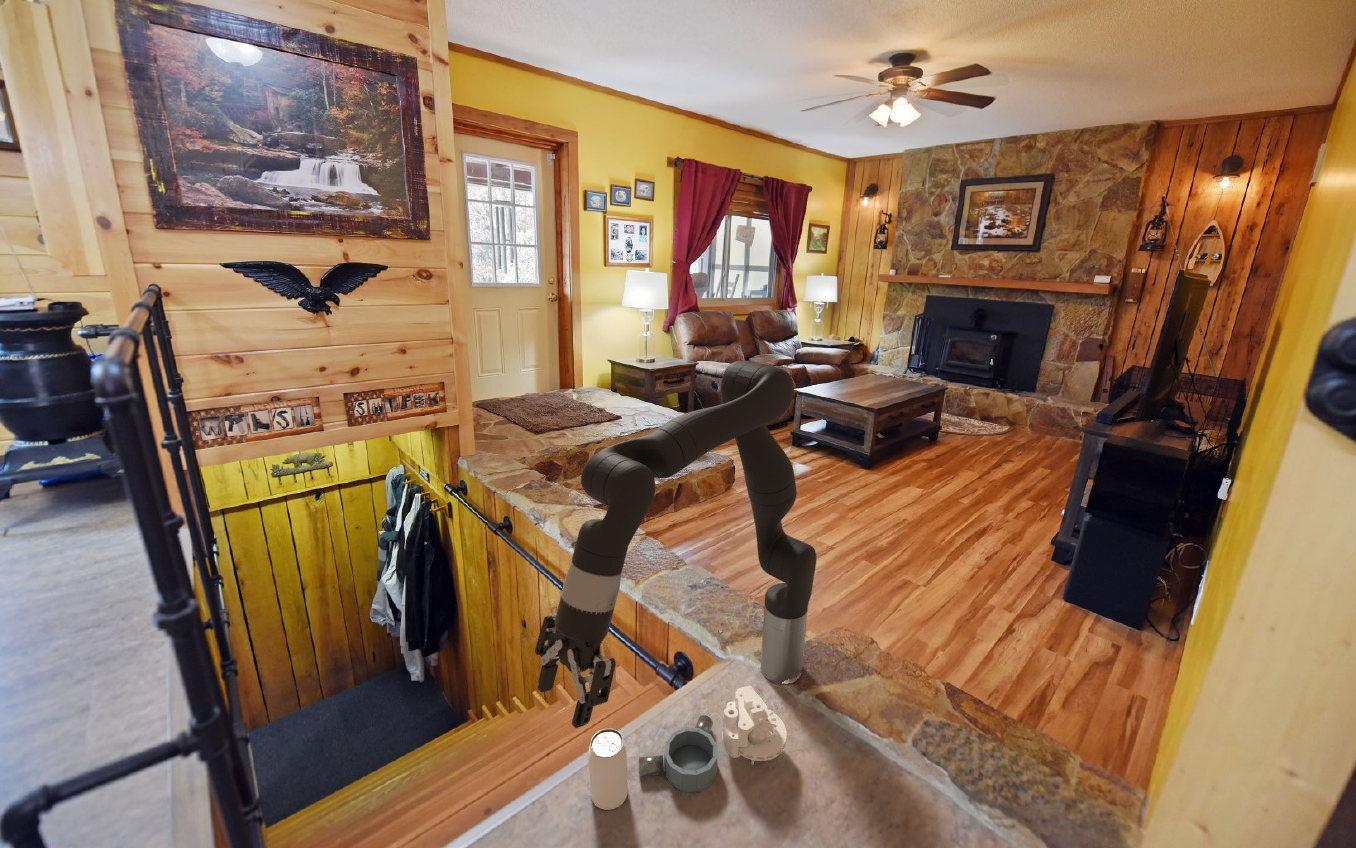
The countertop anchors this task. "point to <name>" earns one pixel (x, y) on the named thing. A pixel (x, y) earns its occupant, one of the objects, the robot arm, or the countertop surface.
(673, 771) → the collar
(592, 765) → the can
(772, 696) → the countertop surface
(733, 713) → the mechanical part
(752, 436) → the robot arm
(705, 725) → the shaft
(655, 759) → the shaft
